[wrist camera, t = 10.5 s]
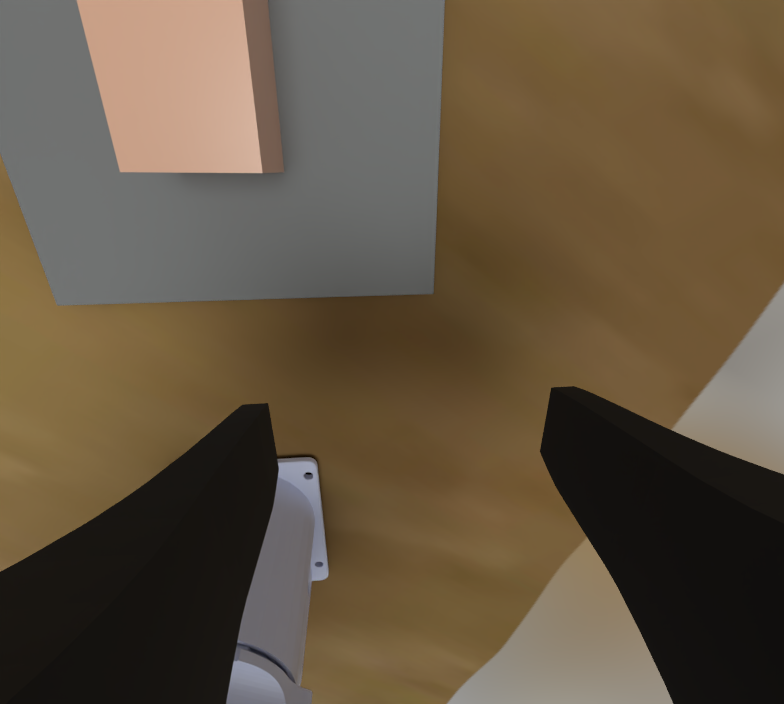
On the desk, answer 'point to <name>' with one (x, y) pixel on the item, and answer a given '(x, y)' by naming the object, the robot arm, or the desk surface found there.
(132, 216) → the desk mat
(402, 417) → the desk surface
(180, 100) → the terracotta brick
